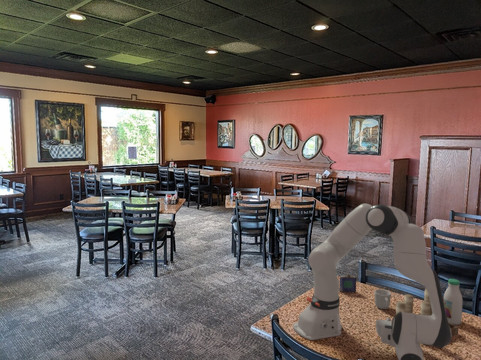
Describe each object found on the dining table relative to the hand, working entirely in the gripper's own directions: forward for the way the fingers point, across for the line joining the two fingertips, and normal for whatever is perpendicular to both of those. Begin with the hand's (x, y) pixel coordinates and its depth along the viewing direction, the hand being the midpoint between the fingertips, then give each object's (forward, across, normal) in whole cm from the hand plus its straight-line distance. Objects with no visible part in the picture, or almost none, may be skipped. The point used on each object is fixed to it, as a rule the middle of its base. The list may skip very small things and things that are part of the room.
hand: (400, 321), depth 146 cm
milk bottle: (+26, -26, +9) cm, 38 cm away
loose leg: (+2, 0, +9) cm, 9 cm away
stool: (+13, -12, +9) cm, 20 cm away
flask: (+46, +22, +9) cm, 52 cm away
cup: (+30, +4, +9) cm, 32 cm away
